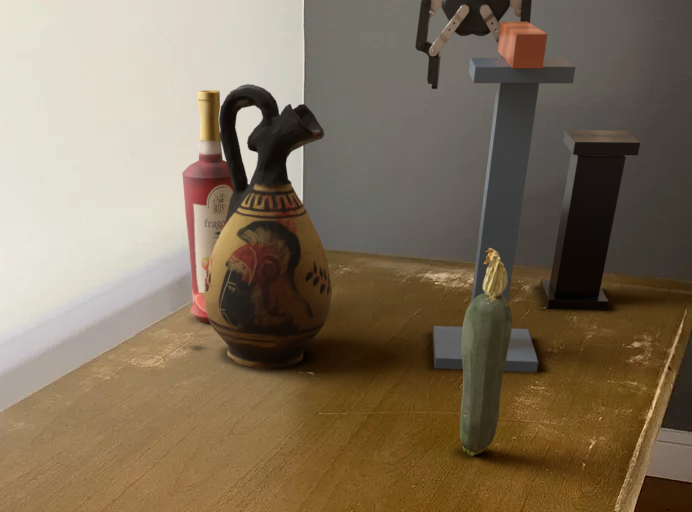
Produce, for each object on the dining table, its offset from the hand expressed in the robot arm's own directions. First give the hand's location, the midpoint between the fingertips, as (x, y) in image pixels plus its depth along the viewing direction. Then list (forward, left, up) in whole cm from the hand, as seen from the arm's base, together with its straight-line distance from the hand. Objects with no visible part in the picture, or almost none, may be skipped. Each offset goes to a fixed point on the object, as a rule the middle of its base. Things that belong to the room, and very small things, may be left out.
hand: (467, 88), depth 127 cm
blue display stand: (+18, +20, -27) cm, 38 cm away
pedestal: (-9, +15, -27) cm, 32 cm away
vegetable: (+43, +37, -27) cm, 63 cm away
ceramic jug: (+38, +1, -27) cm, 47 cm away
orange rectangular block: (+16, +18, +5) cm, 25 cm away
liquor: (+33, -14, -27) cm, 45 cm away
